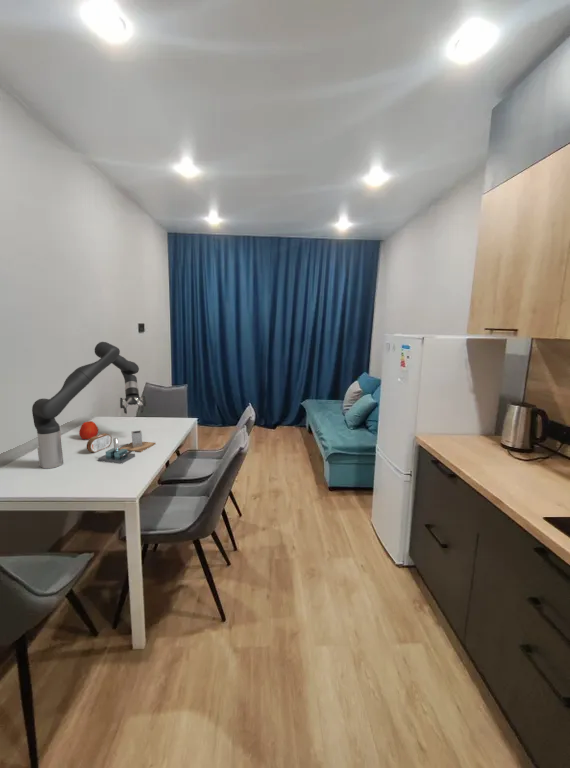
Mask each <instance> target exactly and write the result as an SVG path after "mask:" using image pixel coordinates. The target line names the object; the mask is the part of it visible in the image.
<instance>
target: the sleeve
mask: <svg viewBox="0 0 570 768" xmlns="http://www.w3.org/2000/svg"><path fill="white" fill-rule="evenodd" d="M131 442H132V445H133V448H135V447H142V442H143V433H142V430H141V429H139V430H134V431H131Z"/></svg>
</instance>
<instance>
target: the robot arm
mask: <svg viewBox="0 0 570 768" xmlns="http://www.w3.org/2000/svg"><path fill="white" fill-rule="evenodd" d="M94 355H96V356H97V357H98V358H99V359H98V360H96V361H94V362H92V363H89V364H84V365H81V366H79V367H77V368H76V369H75V370H74V371H72V372H71V373H70V374H69V375H68V376H67V378H66V379H65V381H63V384H62V387H61V388H60V390H59V391H58V392H56V394H54V395H53V396H52V397H51V398H39V399H37V400H35V402H33V404H32V407H31V408H32V409H31V413H32V420H33V425H34V427H35V429H36V434H37V441H38V442H37V443H38V447H37V457H38V464H39V467H41V468H42V469H53V468H57V467H60V466H62V465H64V454H63V448H62V447H63V446H62V445H63V444H62V436H61V427H60V426H61V425H60V424H59V423H58V422H57V421H56V418H57V417H58V416H59V415H60V414H61V413H62V412H63V411H64V410H65V408H66V407H67V406H68V405H69V403H70V402H71V401H72V400H73V399H74V398H75V397H76V396H77V395H79V394H80V392H82V390H83V389H85V388H86V387H87V386H88V385H89V384H90V383H91V382H92V381H93V380H94V379H95V378H96V377H97V376H98V375H99V374H100V373H101V372H103V371H104V370H105V369H106V368H107V367H108V366H111V364H112V365H113V366H115V368H118V369H119V370H120V373H121V374H122V376H123V378H124V392H125V398H123V397H120V400H119V408H120V409H123V413H124V414H125V415H127V413H128V411H127V407H129V405H130V406H133V405H134V406H136V405H138V406H139V407H140V412H141V413H142V414H143V412H144V407H147V401H146V397H145V396H142V397H141V396H140V392H139V386H138V378H137V376H136V375H135V374H137V373H138V372H139V370H140V368H139V367H140V366H139V365H138V364H137V363H136V362H134V361H131V360H128V359H126V358H125V357H124V356H122V355H121V350H120V349H119V347H117V346H115V345H113V344H111V343H108V341H99V342H98V343H97V344H96V345H95V347H94ZM123 403H124V404H123Z"/></svg>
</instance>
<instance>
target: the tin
mask: <svg viewBox="0 0 570 768" xmlns="http://www.w3.org/2000/svg"><path fill="white" fill-rule="evenodd" d="M112 442H113V438H112V435H111V434H109V433H106V432H105V433H101V434H97V436H95V437H92V438H90V439H88V441H87V442H86V450H87V451H88V452H89V453H97V452H100V451H103V450H105V448H106V449H108V448H109V447H111V445H112ZM107 447H108V448H107Z"/></svg>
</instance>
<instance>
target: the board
mask: <svg viewBox="0 0 570 768" xmlns="http://www.w3.org/2000/svg"><path fill="white" fill-rule="evenodd" d="M154 444H155V445H156V442H150V441H142V447H135V448H133V445H132V441H131V442H129V443H127V444H126V445H124V446H121V447H120V448H119V450H121V449H127V452H129V451H135V452H134V453H142V452H144V451H146V450H148V449H150V448H151V447H153V446H155V445H154ZM147 448H148V449H147ZM145 449H146V450H145ZM143 450H144V451H143Z"/></svg>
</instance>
